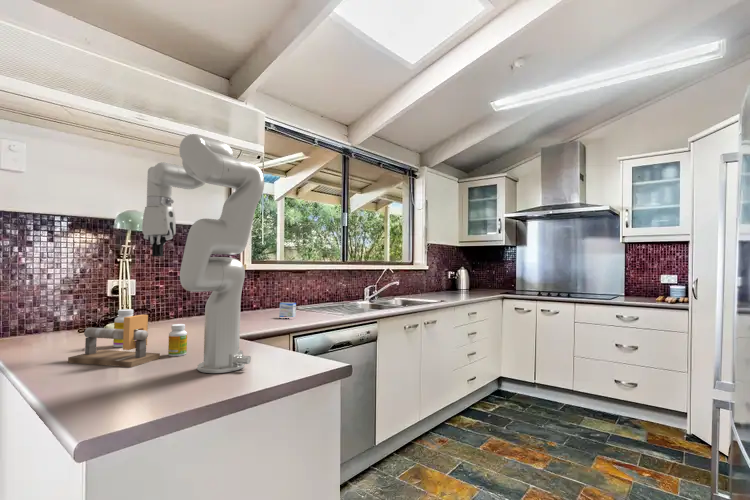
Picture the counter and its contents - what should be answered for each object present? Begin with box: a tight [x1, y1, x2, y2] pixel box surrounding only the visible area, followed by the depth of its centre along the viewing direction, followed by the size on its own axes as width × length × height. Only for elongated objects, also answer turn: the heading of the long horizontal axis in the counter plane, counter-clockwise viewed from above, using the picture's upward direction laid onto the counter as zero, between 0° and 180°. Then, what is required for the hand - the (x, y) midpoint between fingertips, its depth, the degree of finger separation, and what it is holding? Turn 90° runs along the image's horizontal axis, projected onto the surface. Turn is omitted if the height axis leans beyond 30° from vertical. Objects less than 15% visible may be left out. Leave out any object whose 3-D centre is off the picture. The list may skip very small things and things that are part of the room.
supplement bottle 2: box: [167, 323, 188, 357], centre depth 129 cm, size 5×5×10 cm
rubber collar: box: [122, 314, 149, 351], centre depth 119 cm, size 2×7×9 cm, turn 168°
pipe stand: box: [67, 327, 161, 368], centre depth 120 cm, size 22×11×10 cm, turn 78°
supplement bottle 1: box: [112, 308, 137, 349], centre depth 141 cm, size 7×7×13 cm
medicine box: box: [278, 302, 297, 317], centre depth 215 cm, size 8×4×9 cm, turn 81°
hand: (157, 256), depth 136 cm, fingers closed
